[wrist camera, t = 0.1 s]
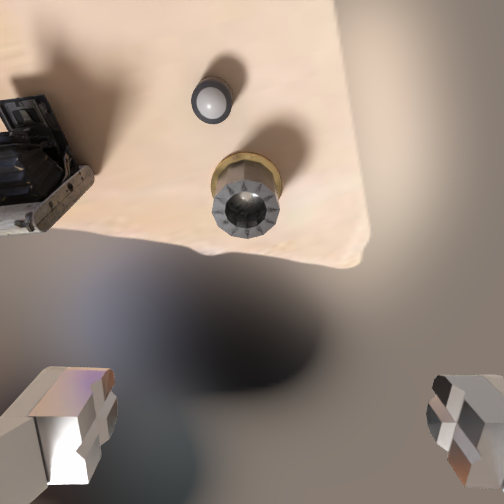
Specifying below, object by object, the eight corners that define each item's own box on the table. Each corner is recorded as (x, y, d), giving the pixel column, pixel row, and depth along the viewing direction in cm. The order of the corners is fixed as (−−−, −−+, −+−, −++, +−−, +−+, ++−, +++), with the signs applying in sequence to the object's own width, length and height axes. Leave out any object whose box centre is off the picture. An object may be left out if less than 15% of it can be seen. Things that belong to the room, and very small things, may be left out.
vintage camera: (61, 89, 52) (-29, 120, 36) (99, 181, 61) (40, 240, 44) (4, 97, 53) (-110, 131, 37) (50, 186, 62) (-26, 246, 45)
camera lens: (210, 66, 50) (207, 71, 47) (240, 95, 52) (240, 102, 49) (187, 98, 53) (183, 105, 49) (216, 124, 55) (214, 132, 52)
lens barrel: (243, 136, 56) (242, 156, 49) (295, 184, 61) (301, 208, 54) (197, 188, 62) (190, 213, 55) (248, 228, 67) (248, 255, 60)
